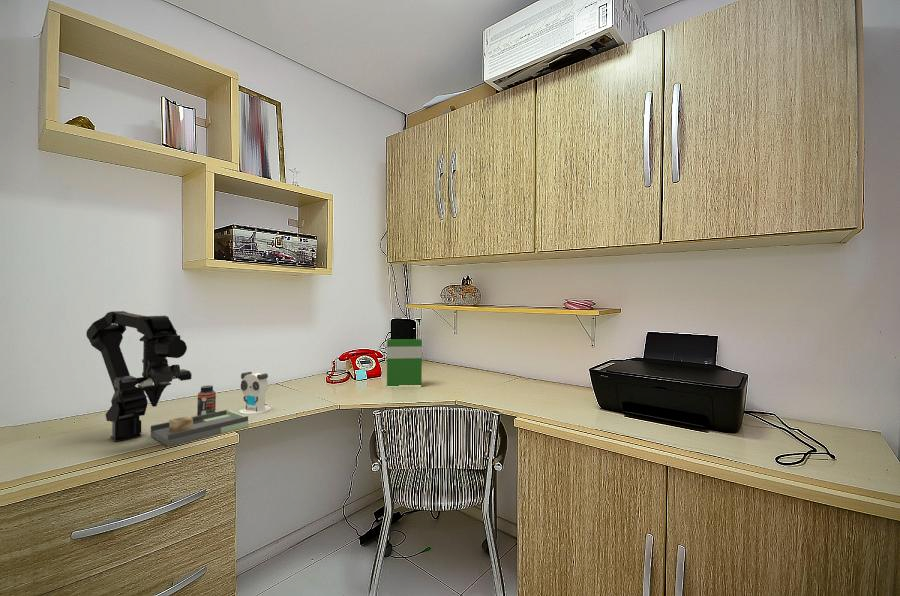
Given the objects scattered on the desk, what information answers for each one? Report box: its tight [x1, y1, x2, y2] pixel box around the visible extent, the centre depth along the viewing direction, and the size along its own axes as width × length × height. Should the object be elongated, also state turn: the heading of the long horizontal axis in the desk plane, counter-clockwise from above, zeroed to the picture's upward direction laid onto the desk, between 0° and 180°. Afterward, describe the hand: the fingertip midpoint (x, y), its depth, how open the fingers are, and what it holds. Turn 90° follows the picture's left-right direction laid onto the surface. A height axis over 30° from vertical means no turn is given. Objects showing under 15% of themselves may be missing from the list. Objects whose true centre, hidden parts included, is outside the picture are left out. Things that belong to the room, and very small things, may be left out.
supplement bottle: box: [196, 385, 217, 416], centre depth 152 cm, size 6×6×11 cm
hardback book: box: [386, 338, 423, 387], centre depth 206 cm, size 18×7×24 cm, turn 98°
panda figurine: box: [238, 371, 271, 415], centre depth 160 cm, size 12×11×15 cm
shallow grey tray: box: [150, 409, 249, 448], centre depth 134 cm, size 24×15×4 cm, turn 144°
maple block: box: [168, 416, 193, 433], centre depth 129 cm, size 5×5×4 cm
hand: (154, 406), depth 123 cm, fingers closed
